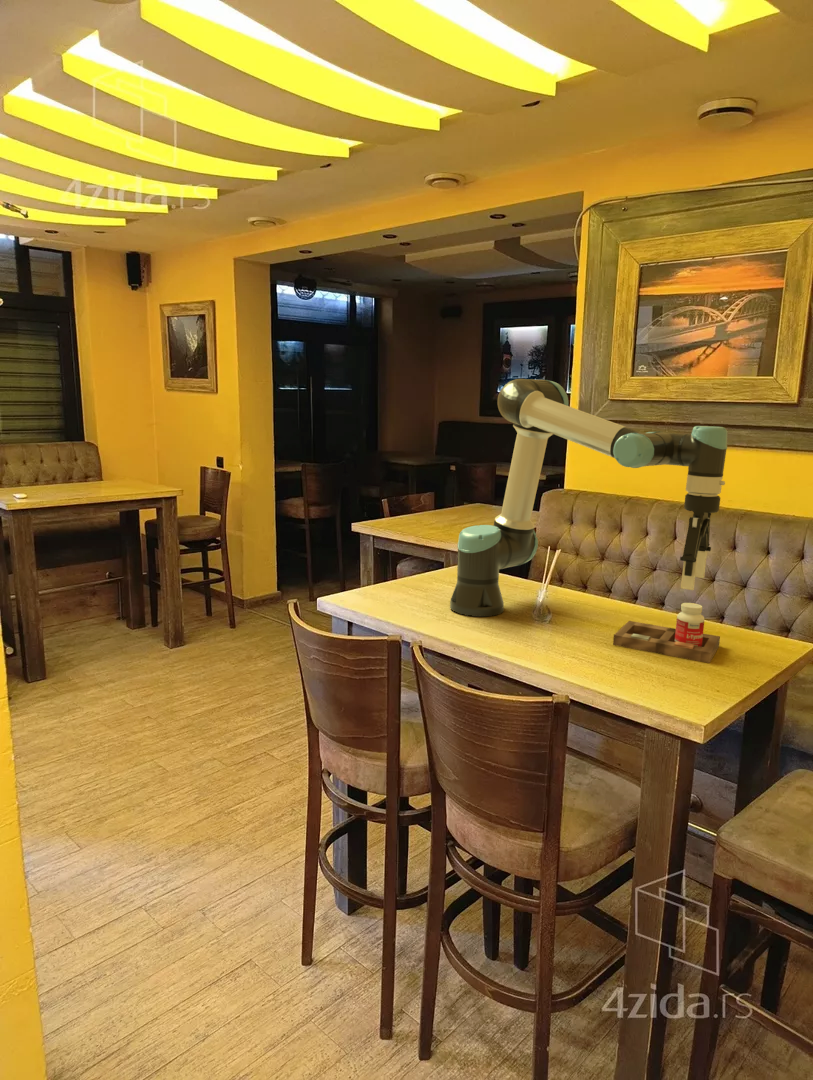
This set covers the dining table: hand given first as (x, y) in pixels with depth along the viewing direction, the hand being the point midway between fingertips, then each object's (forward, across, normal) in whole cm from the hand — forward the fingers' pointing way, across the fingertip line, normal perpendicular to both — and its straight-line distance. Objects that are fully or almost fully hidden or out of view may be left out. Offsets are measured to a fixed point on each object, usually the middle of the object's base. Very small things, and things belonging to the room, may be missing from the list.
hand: (692, 583), depth 166 cm
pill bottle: (+17, 0, -1) cm, 17 cm away
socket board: (+16, 0, +4) cm, 17 cm away
